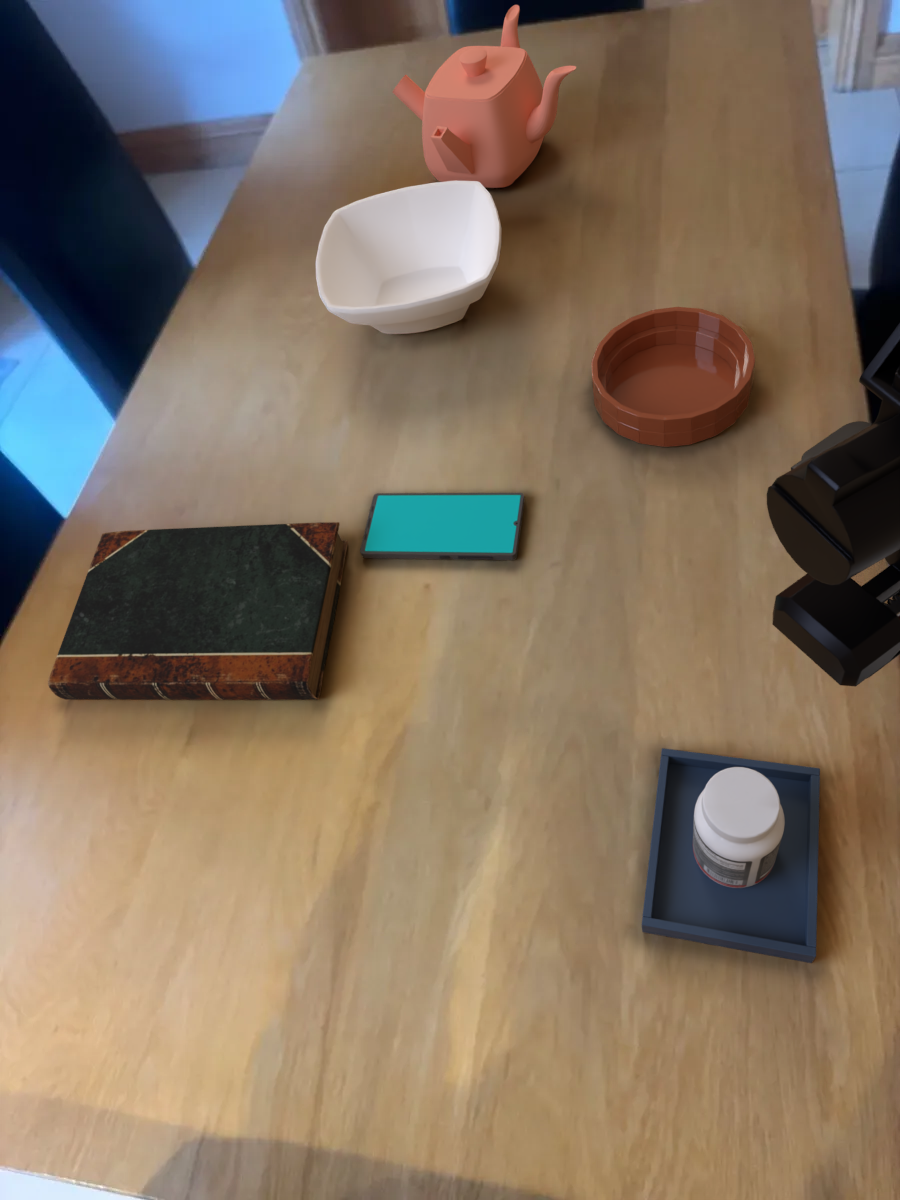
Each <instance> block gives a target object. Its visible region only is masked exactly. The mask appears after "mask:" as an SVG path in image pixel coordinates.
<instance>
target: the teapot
mask: <svg viewBox="0 0 900 1200" xmlns="http://www.w3.org/2000/svg"><path fill="white" fill-rule="evenodd" d="M520 12H521V9H520V5H519V4H514V5H512V6H511V7H510V8H509V9H508V10H507V12H506V14H505V17H504V20H503V25H502V33H501V40H500V45H498V46H497V45H466V46H463V47H461V48H459V49H458V50H456V51H454V52H453V53H452V54H451V55H450V56H449V57H448V58H446V60H445V61H444V62H443V63H442V64H441V65H440V67H439V68H437V70H436V71H435V73H434V74H433V76H432V78H431V79H430V81H429V83H428V84H427V86H426V89H425V90H423V89H422V88H421V87H420V86H419V85H418V84H417V83H416V82H415V81H414V80H412V79H411V78H410V77H409V76H408V75H407V74H404V75H403V77H402V78H401V79H400V80H399V82H398V83H397V84H396V85H395V87H394V88H393V90H392V94H393V95H394V96H396V97H397V98H398V99H399V101H401V102H402V103H403V104H404V105H405V106H406V107H407V108H408V110H410V111H411V112H412V113H413V114H414V115H415V116H417V118H418V119H420V120H421V121H422V122H421V123H422V125H421V135H422V136H421V138H422V139H421V140H422V150H423V157H424V161H425V165H426V167H427V169H428V170H429V172H430V173H431V174H432V176H433V177H434V178H435V179H436V180H437V182H446V181H478V182H480V183H481V184H482V185H483V186H484V187H485V189H486V188H487V189H488V188H489V189H494V188H496V189H498V188H499V189H500V188H507V187H509V186H511V185H512V184H514V182H515V181H516V180H517V179H518V178H519V177H520V176H521V175H522V174H523V173H524V172H525V171H526V170H527V168H529V166H530V165H531V164H532V163H533V161H534V160H535V159H536V157H537V155H538V153H539V151H540V149H541V146H542V143H543V142H544V141H543V140H544V138H545V136H546V135H547V134H548V133H549V132H550V131H551V129H552V127H553V126H554V124H555V121H556V119H557V118H556V117H557V113H558V104H559V92H560V86H561V83H562V82H563V80H564V79H565V78H566V77H567V76H568V75H570V74H572V73H573V72H574V71H576V69H577V65H563V66H559V67H556V68H554V69H552V70H551V71H550V72H549V73H548V74H547V76H546V78H545V80H544V84H543V83H542V81H541V79H540V77H539V74H538V72H537V70H536V67H535V66H534V63H533V61H532V59H531V57H530V55H529V53H528V52H527V50H526V49H524V48H522V47H521V45H520V39H519V31H518V28H519V27H518V25H519V16H520ZM542 84H543V85H542Z"/></svg>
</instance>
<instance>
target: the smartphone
mask: <svg viewBox="0 0 900 1200" xmlns="http://www.w3.org/2000/svg"><path fill="white" fill-rule="evenodd" d="M525 501H526V500H525V495H524V493H523V492H388V493H387V492H386V493H385V492H378V493H377V492H376V493H374V494H373V496H372V500H371V504H370V508H369V512H368V516H367V521H366V524H365V528H364V531H363V532H364V533H363V537H362V540H361V544H360V549H359V553H360V554H361V557H362V558H363V559H394V560H395V559H399V560H401V559H402V560H410V559H411V560H413V559H414V560H461V561H462V560H463V561H465V560H466V561H468V560H469V561H470V560H472V561H477V560H478V561H480V560H481V561H515V560H516V559H517V558H518V553H519V552H518V551H519V544H520V537H521V530H522V524H523V515H524V508H525Z"/></svg>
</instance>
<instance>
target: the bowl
mask: <svg viewBox="0 0 900 1200" xmlns="http://www.w3.org/2000/svg"><path fill="white" fill-rule="evenodd" d="M501 249H502V224H501V220H500V216H499V211H498V208H497V206H496V203H495V201H494V198H493V196H492V194H491V193H490V191H488V190H487V189H486V187H484V186H483V185H482V184H481V183H480V182H478V181H446V182H441V181H436V182H430V183H423V184H417V185H411V186H405V187H401V188H398V189H397V188H396V189H393V190H390V191H389V190H388V191H385V192H381V193H377V194H374V195H370V196H368V197H365V198H361V199H358V200H356V201H353V202H351V203H348V204H347V205H344V206H342V207H340V208H337V209H336V210H334V211H333V212H332V214H331V216H329V218H328V220H327V221H326V224H324V227H323V230H322V232H321V235H320V239H319V242H318V248H317V253H316V257H315V279H316V280H315V281H316V285H317V290H318V295H319V298H320V300H321V301H322V303H323V305H324V306H325V308H326V310H327V311H328V312H329V313H330V314H332V315H334V316H336V317H338V318H340V319H342V320H343V321H345V322H347V323H349V324H352V325H361V326H363V325H364V326H370V327H372V328H373V329H375V330H377V331H379V332H380V333H382V334H387V335H401V334H402V335H403V334H407V335H408V334H415V333H423V332H428V331H432V330H436V329H439V328H442V327H445V326H448V325H451V324H454V323H457V322H458V321H461V320H463V319H464V317H465V316H466V313H467V311H468V309H469V308H470V305H471V304H473V303H476V302H478V301H479V300H481V298H482V297H483V296H484V294H485V292H486V290H487V288H488V286H489V284H490V282H491V280H492V278H493V275H494V274H495V272H496V270H497V267H498V265H499V262H500V255H501V251H502V250H501Z"/></svg>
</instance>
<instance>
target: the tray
mask: <svg viewBox="0 0 900 1200" xmlns="http://www.w3.org/2000/svg"><path fill="white" fill-rule="evenodd" d="M731 767H744V768H749V769H752V770H755V771H757V772H759V773H761V774H762V775H764V776H765V777H766V778H767V779H768V780H769V781H770V782H771V783H772V784H773V786H774V787H775V789H776V791H777V793H778V796H779V800H780V804H781V806H782V809H783V813H784V820H785V825H784V832H783V836H782V839H781V843H780V846H779V850H778V853H777V857H776V860H775V863H774V866H773V868H772V870H771V871H770V873H769V874H768V875H767V876H766V877H765V878H764V879H763V880H762V881H760V882H759V883H757V884H755V885H753V886H749V887H745V888H731V887H727V886H723V885H721V884H719V883H717V882H715V881H713V880H712V879H710V878H709V877H708V876H707V875H706V874H705V873H704V872H703V871H702V870H701V868H700V867H699V865H698V863H697V861H696V859H695V856H694V852H693V826H694V810H695V805H696V802H697V800H698V797H699V795H700V794H701V793H702V791H703V790H704V789H705V787H706V784H707V783H708V781H709V780H710V779H711V778H712V777H713V776H714V775H715V774H716V773H718V772H720V771H722V770H724V769H727V768H731ZM820 788H821V768H820V767H814V766H813V767H812V766H805V765H798V764H789V763H781V762H773V761H768V760H767V761H765V760H759V759H750V758H742V757H736V756H735V757H734V756H727V755H719V754H711V753H702V752H695V751H689V750H688V751H687V750H679V749H671V748H664V747H662V748H661V752H660V760H659V768H658V778H657V787H656V796H655V804H654V813H653V821H652V832H651V839H650V847H649V857H648V864H647V865H648V866H647V873H646V874H647V875H646V883H645V890H644V891H645V892H644V901H643V909H642V920H641V931H642V933H645V934H652V935H655V936H661V937H667V938H671V939H672V938H673V939H676V940H684V941H689V942H693V943H699V944H705V945H710V946H715V947H720V948H725V949H726V948H727V949H732V950H737V951H741V952H742V951H743V952H747V953H752V954H753V953H754V954H759V955H765V956H771V957H776V958H780V959H786V960H791V961H797V962H803V963H808V964H813V962H814V961H815V960H816V957H817V941H818V940H817V937H818V933H817V932H818V894H819V893H818V887H819V883H818V882H819V844H820V842H819V841H820V837H819V836H820V798H821V797H820V794H821V793H820Z"/></svg>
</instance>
